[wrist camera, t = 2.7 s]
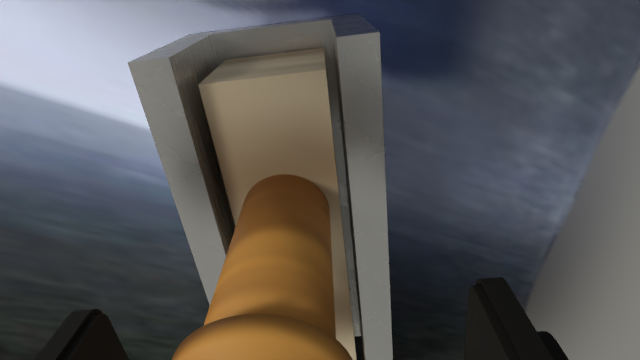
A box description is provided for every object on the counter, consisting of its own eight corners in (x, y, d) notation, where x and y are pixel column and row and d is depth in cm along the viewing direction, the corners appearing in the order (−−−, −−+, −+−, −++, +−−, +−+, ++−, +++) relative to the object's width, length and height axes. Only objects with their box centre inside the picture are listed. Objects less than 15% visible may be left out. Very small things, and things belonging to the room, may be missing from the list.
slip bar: (225, 60, 16) (61, 210, 6) (323, 47, 15) (335, 182, 5) (296, 377, 25) (281, 647, 15) (358, 372, 25) (385, 642, 15)
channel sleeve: (189, 34, 16) (127, 62, 11) (359, 13, 16) (379, 31, 11) (265, 330, 25) (251, 427, 19) (378, 321, 24) (395, 417, 19)
